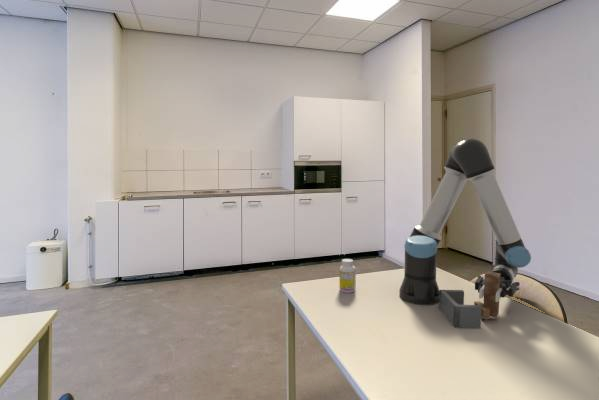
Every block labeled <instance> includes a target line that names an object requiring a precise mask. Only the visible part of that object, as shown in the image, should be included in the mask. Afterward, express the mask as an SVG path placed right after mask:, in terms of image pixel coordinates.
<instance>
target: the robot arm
mask: <svg viewBox="0 0 599 400" xmlns="http://www.w3.org/2000/svg"><path fill="white" fill-rule="evenodd" d="M492 160H493V159H492V158H491V155H490V152H489V149H488V147H487V145H486V144H485V143H484V142H482V141H481V140H479V139H476V138H466V139H464V140H461V141H459V142H457V143H456V144H455V145H453V146H452V148H451V150H450V152H449V156H448V158H447V160H446V163H445V164H444V167H443V169H444V171H445V173H444V175H443V177H442V180H441V181H440V183H439V185H438V187H437V189H436V192H435V194H434V196H433V197H432V200H431V202H430V204H429V206H428V208H427V210H426V212H425V213H424V215H423V218H422V220H421V222H420V224H418V225H414V228H413V230H412V231H411V234H410V236H409V237H407V238H406V239H405V243H404V277H403V280H402V283H401V286H400V288H399V298H400V299H402V300H403V301H405V302H408V303H411V304H415V305H425V306H427V305H429V306H430V305H435V304H439V290H440V288H439V285H438V282H437V259H438V258H437V257H438V256H437V252H438V246H439V245H440V243H441V241H442V237H441V232H442V230H443V228H444V226H445V224H446V223H447V220H448V218H449V217H450V215H451V212H452V211H453V209H454V207H455V205H456V203H457V201H458V199H459V196H460V195H461V193H462V191H463V189H464V187H465V185H466V184H467V181H470V182H471V184H472V186H473V189H474V191H475V193H476V196H477V197H478V201H479V202H480V204H481V207H482V209H483V211H484V214H485V216H486V219H487V221H488V223H489V225H490V228H491V231H492V232H493V235H494V237H495V249H494V250H495V252H494V253H495V254H494V255H495V257H494V267H493V268H492V270H491V271H490V272H495V273H501V275H500V288H499V289H498V291H497V292H496V300H495V302H498V301H499V302H500V300H501V298H503V299H504V298H505V297H506V296H508V297H511V298H512V297H514V295H515V293H516V292H517V291H520V284H521V283H520V282H518V281H515V282H514V280H515V278H516V277H517V275H518V271H519V270H518V269H519V268H524V267H527V266H528V265H529V264H530V262H531V260H532V256H531V252H530V251H529V250H528V249H527V248H526V246H525V243H524V241H523V239H522V237H521V235H520V232H519V230H518V228H517V225H516V223H515V221H514V218H513V216H512V213H511V212H510V209H509V206H508V205H507V202H506V200H505V198H504V195H503V193H502V190H501V187H500V186H499V183H498V181H497V179H496V176H495V174H494V171H496V168H495V166H494V164H493V161H492ZM484 279H485V277H483V276H482V275H479V274H478V275H477V279H476V281H475V282H474V290H475V291H477V293H478V294H479V295H478V298H479V299H482V300H483V298H484Z"/></svg>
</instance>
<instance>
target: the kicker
mask: <svg viewBox="0 0 599 400" xmlns="http://www.w3.org/2000/svg"><path fill="white" fill-rule="evenodd" d="M500 275H501V273H495V272H491V271H486V272H485V273H484V278H485V279H484V296H483V303H482V301H475V300H474V302H473V303H474V304H473V305H480V306H481V307H482V310H481V319H484V320H486V319H487V320H490V318H496V319H497V318H498V316H499V314H500V300H499V301H498V302H495V300H496V292H497V291H498V289H499V288H500Z"/></svg>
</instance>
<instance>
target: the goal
mask: <svg viewBox="0 0 599 400" xmlns="http://www.w3.org/2000/svg"><path fill="white" fill-rule="evenodd" d="M464 302H465V291H464V290H463V289H439V302H438V309H439V311H441V313H442V314H443V315H444V316H445V318H446V319H447V320H448V322H449V323H450V324H451V325H452V326H453V328H456V329H458V328H459V329H481V328H482V327H481V326H482V317H481V310H482V307H481V306H480V305H474V304H464Z"/></svg>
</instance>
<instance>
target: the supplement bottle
mask: <svg viewBox="0 0 599 400" xmlns="http://www.w3.org/2000/svg"><path fill="white" fill-rule="evenodd" d="M341 264H342V265H340V267H339V290H340V291H341V292H342V293H348V294H349V293H350V294H351V293H353V292H355V291H356V289H357V288H356V287H357V286H356V280H357V278H356V277H357V275H356V274H357V273H356V271H357V269H356V266H354V260H353V259H352V258H343V259H341Z"/></svg>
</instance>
